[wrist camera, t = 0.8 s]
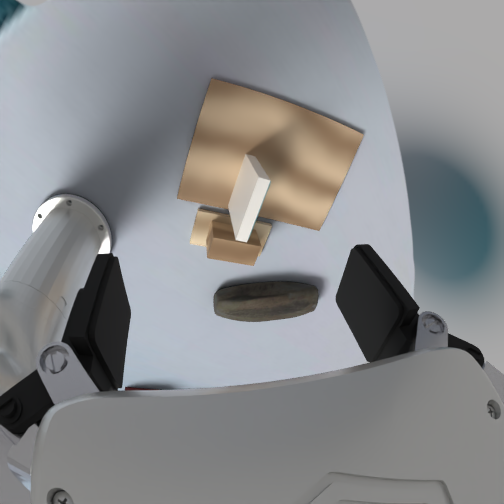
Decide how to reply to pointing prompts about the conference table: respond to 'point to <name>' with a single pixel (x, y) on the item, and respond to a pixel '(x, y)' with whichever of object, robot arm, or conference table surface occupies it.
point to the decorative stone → (265, 301)
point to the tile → (248, 197)
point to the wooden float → (227, 238)
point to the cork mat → (268, 154)
